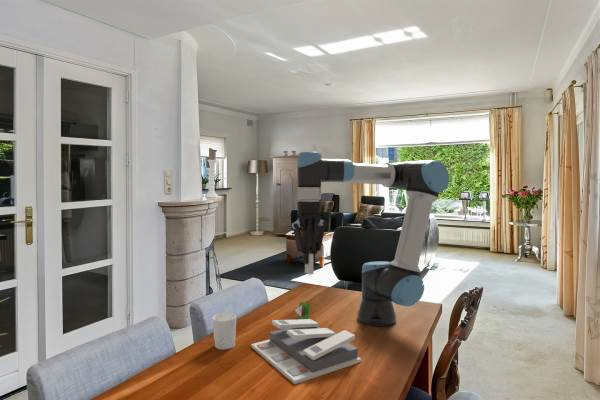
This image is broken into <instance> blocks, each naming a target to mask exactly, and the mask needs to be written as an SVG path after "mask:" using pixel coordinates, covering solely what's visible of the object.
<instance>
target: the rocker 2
mask: <svg viewBox="0 0 600 400" xmlns="http://www.w3.org/2000/svg"><path fill="white" fill-rule="evenodd" d="M286 334H288V335H289V336H291V337H292V338H294V339H305V338H320V337H331V336H333V335H335V334H337V333H336V332H335V331H333V330H332V329H329V328H327V327H320V328H317V329H296V330H287V333H286Z"/></svg>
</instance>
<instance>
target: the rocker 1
mask: <svg viewBox="0 0 600 400" xmlns="http://www.w3.org/2000/svg"><path fill="white" fill-rule="evenodd" d="M271 324H272V325H273V326H274V327H275V328H277V329H278V330H281V329H285V328H303V327H318V326H319V323H318V322H317V321H315V320H313V319H312V318H309V319H298V318H297V319H272V321H271Z"/></svg>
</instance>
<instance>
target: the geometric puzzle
mask: <svg viewBox="0 0 600 400" xmlns="http://www.w3.org/2000/svg"><path fill="white" fill-rule="evenodd" d="M310 311H312V306H311V302H309V303H308V302H302V301H300V302H299V306H297V307H296V308H295V309H294V312H295V314H297V315H298V316H297V317H298V318H297V320H298V319H310V318H311V316H312V314H314V313H315V312H314V311H312V313H310Z"/></svg>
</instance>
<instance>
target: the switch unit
mask: <svg viewBox="0 0 600 400" xmlns="http://www.w3.org/2000/svg"><path fill="white" fill-rule="evenodd" d="M317 328H321V326H319V325H318V327H303V328H280V329H277V330H273V331H270V332H269V339H266V340H262V341H258V342H255V343H251V345H250V347H251V348H252V349H253V350H254V351H255V352H256V353H258V354H259V355H260V356H261V357H262V358H263V359H264V360H266V361H267V362H268V363H269V364H271V365H272V367H274V368H275V369H276V370H278V371H279V372H280V373H281V374H282V375H283V376H284V377H285V378H287V379H288V380H289V381H290V382H291V383H293V384H294V385H297V384H299V383H302V382H305V381H309V380H311V379H314V378H318V377H321V376H323V375H326V374H328V373H332V372H336V371H338V370H341V369H344V368H347V367H349V366H353V365H355V364H358V363H362V358H361V357H359V356H358V355H359V354H358V353H359V351H358V347H356V346H354V345H352V344H350V342H348V343H346V344H344V345H342V346H340V347H338V348H336V349H335V350H333V351H331V352H329V353H327V354H325V355H323V356H321V357H319V358H317V359H315V360H312V359H310V358H309V357H308V356H306V355H305V354H304V352H303V350H305V349H307V348H309V347H311V346H313V345H315V344H317V343H319V342H321V341H323V340H325V339H327V338H329V337H320V338H305V339H294V338H292V337H291V336H289V335H288V334H286V333H287V330H296V329H317Z"/></svg>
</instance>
